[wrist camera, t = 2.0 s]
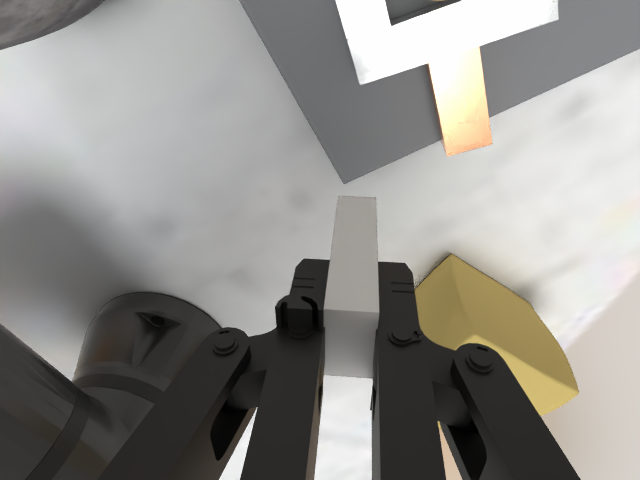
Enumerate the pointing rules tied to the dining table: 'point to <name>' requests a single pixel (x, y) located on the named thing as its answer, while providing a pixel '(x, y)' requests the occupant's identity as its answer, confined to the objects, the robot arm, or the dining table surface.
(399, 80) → the jig
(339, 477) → the dining table surface
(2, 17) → the vase
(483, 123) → the handled square frame
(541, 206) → the dining table surface
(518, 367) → the cheese
